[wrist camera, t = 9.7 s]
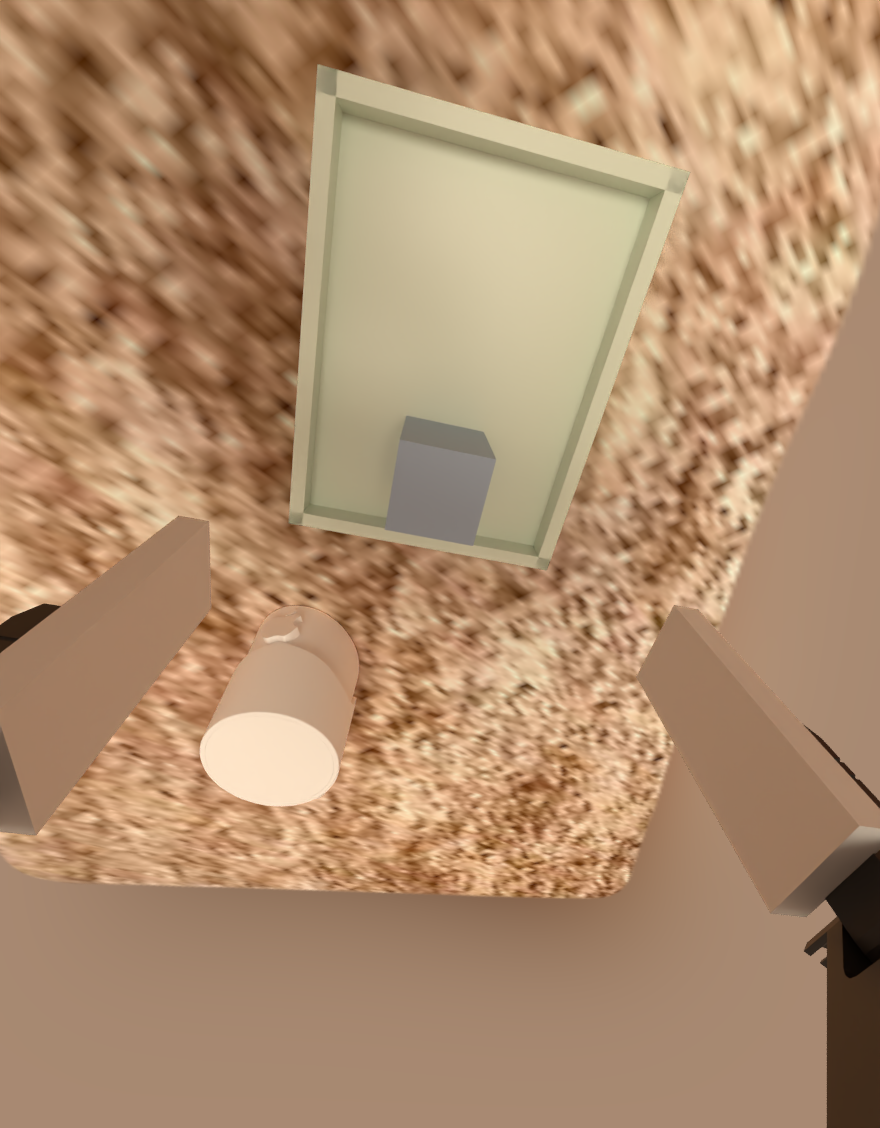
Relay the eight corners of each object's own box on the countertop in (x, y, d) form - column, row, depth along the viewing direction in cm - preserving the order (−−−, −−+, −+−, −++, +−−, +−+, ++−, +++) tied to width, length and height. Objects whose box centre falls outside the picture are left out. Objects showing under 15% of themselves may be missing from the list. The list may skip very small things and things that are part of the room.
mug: (168, 711, 25) (314, 692, 24) (235, 612, 33) (344, 597, 32) (246, 844, 30) (366, 831, 30) (286, 731, 38) (380, 720, 38)
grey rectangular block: (393, 490, 28) (384, 529, 23) (406, 415, 26) (399, 439, 21) (465, 504, 29) (473, 545, 23) (483, 431, 27) (496, 459, 21)
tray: (328, 88, 20) (317, 63, 18) (667, 185, 22) (690, 172, 20) (298, 509, 29) (288, 523, 27) (539, 554, 31) (546, 570, 29)
